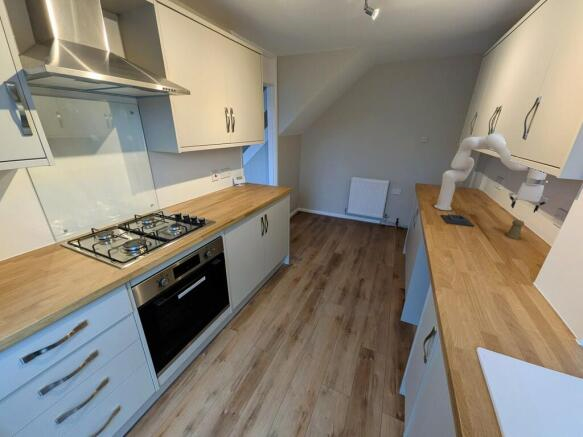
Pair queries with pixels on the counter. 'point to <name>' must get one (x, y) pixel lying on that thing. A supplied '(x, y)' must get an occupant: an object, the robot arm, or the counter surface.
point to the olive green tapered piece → (515, 229)
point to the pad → (457, 220)
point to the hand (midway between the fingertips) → (523, 209)
